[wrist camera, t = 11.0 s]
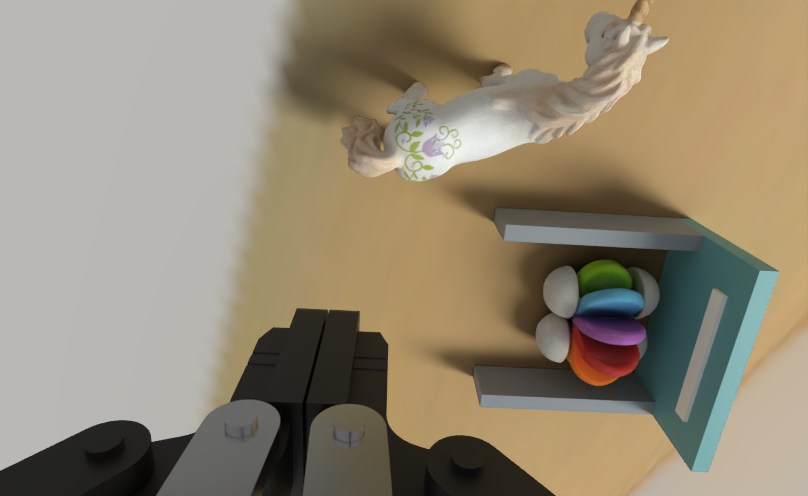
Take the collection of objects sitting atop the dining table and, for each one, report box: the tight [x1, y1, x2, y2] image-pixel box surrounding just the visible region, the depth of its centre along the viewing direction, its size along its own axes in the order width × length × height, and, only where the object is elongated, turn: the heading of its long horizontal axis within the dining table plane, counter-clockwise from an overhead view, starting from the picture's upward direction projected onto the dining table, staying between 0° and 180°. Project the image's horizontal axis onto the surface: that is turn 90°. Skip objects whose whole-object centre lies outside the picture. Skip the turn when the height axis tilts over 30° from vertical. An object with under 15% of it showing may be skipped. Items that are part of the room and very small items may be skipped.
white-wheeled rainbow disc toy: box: [536, 260, 660, 386], centre depth 40 cm, size 8×10×7 cm
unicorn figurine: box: [340, 0, 669, 181], centre depth 31 cm, size 7×20×13 cm, turn 123°
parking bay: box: [473, 208, 779, 472], centre depth 38 cm, size 15×15×10 cm
